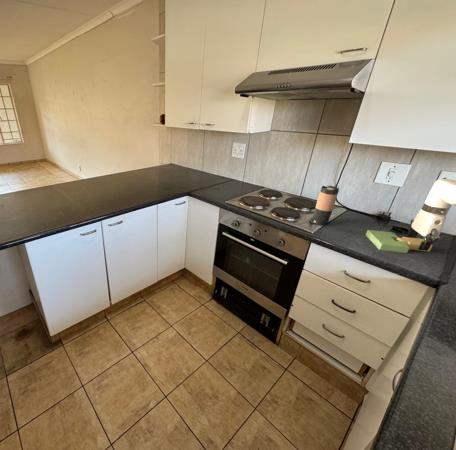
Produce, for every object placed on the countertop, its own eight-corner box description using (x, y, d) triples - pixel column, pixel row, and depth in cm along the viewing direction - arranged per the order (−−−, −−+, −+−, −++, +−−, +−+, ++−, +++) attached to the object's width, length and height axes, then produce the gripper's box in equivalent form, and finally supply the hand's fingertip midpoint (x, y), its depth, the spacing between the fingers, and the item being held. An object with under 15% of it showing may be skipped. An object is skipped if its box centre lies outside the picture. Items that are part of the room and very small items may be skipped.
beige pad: (420, 244, 112) (424, 239, 111) (429, 251, 107) (432, 245, 106) (392, 241, 115) (395, 236, 114) (400, 248, 110) (402, 242, 109)
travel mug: (324, 227, 129) (336, 191, 120) (308, 222, 134) (319, 187, 125) (329, 223, 133) (341, 187, 124) (314, 218, 138) (324, 184, 129)
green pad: (390, 237, 118) (392, 232, 117) (407, 253, 106) (410, 247, 105) (365, 235, 121) (367, 229, 120) (379, 249, 109) (382, 244, 108)
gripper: (462, 218, 94) (439, 256, 102) (432, 202, 109) (414, 236, 117) (437, 216, 96) (417, 253, 104) (411, 201, 111) (395, 234, 119)
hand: (415, 244), depth 110 cm, fingers open, 9 cm apart
